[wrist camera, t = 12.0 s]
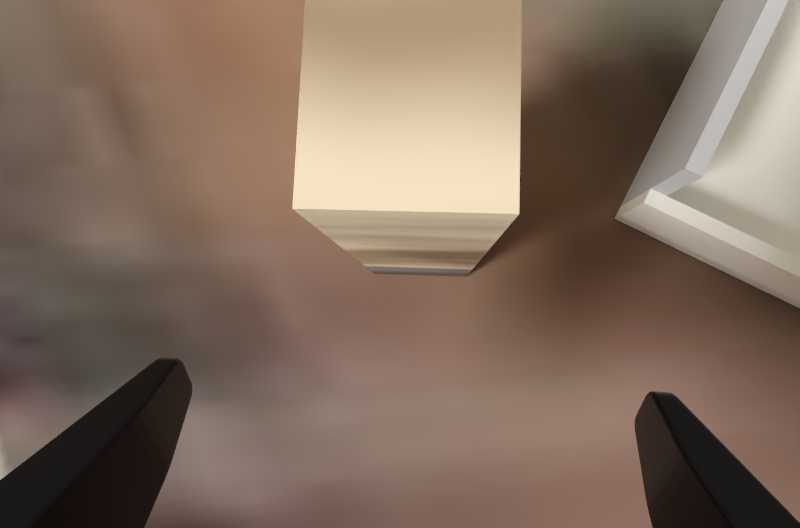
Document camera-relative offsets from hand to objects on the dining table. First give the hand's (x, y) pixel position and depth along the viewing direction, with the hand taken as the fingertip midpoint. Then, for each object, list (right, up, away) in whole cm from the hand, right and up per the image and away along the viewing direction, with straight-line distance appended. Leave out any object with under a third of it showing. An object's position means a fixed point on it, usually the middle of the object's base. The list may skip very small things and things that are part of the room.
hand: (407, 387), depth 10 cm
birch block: (+1, +4, +12) cm, 13 cm away
